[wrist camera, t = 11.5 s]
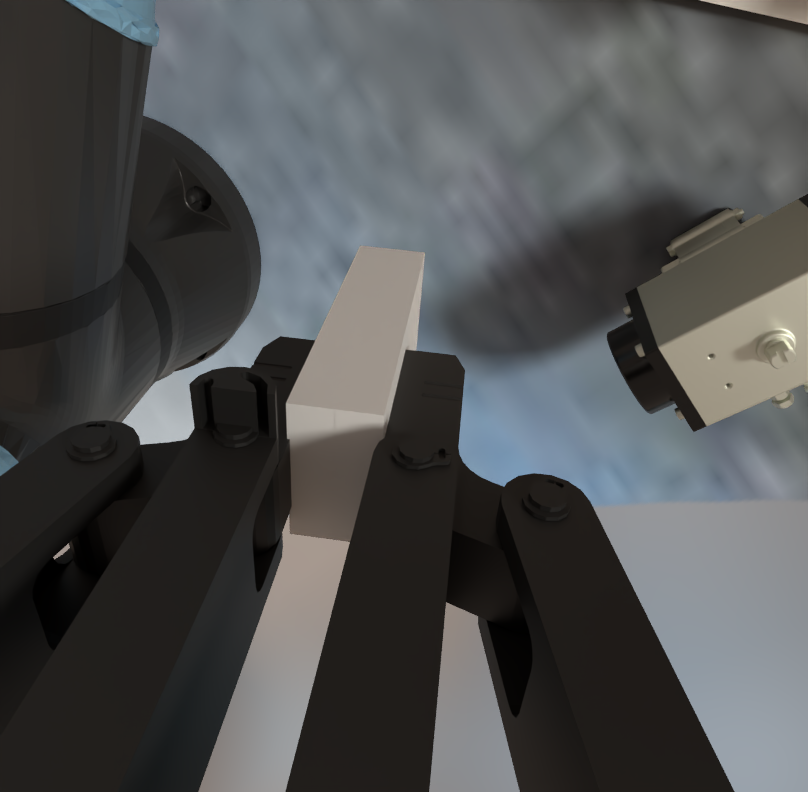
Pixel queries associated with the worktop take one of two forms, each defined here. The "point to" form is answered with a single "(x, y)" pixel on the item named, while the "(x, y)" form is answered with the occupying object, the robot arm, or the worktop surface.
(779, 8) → the board
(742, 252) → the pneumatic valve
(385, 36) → the worktop surface
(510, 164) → the worktop surface
